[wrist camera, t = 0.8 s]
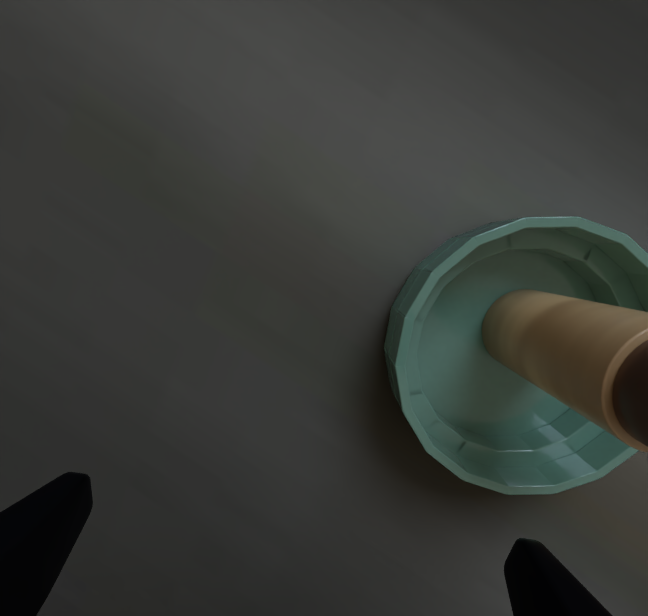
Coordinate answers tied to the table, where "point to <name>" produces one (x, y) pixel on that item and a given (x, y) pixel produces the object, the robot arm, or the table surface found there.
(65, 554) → the robot arm
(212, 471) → the table surface
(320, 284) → the table surface
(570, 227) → the bowl
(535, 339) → the pepper mill
